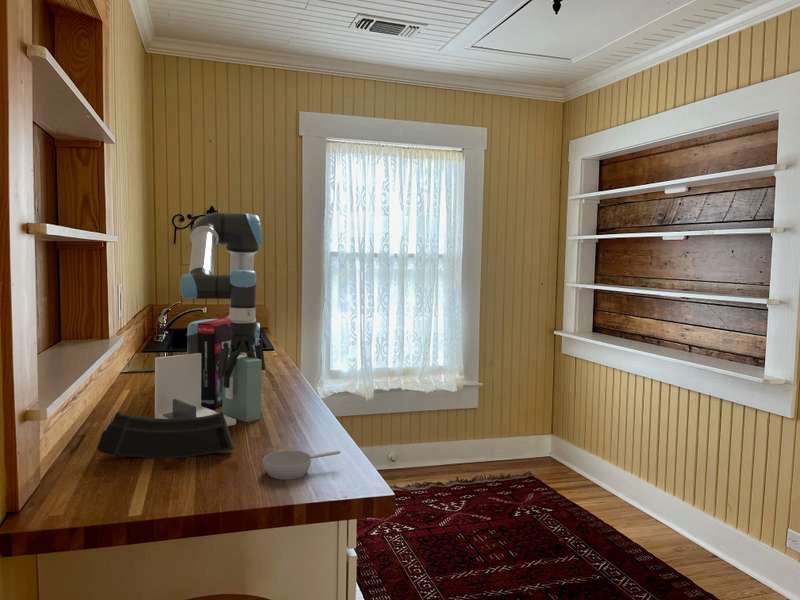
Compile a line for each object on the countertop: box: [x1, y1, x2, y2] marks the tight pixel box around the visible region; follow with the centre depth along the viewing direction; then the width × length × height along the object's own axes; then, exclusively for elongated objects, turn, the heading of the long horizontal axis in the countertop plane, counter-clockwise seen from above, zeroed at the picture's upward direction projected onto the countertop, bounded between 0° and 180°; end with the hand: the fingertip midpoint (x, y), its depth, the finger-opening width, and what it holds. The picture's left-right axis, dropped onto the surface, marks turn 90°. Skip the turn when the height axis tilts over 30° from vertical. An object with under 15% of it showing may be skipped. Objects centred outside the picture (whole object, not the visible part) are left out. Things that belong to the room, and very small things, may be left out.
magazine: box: [96, 411, 234, 459], centre depth 142 cm, size 17×3×30 cm
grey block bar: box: [163, 399, 196, 419], centre depth 168 cm, size 4×12×4 cm, turn 48°
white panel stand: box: [154, 353, 237, 427], centre depth 171 cm, size 14×21×18 cm, turn 48°
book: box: [221, 354, 263, 423], centre depth 178 cm, size 5×13×18 cm, turn 48°
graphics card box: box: [197, 317, 232, 409], centre depth 193 cm, size 17×7×27 cm, turn 168°
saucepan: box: [262, 450, 341, 481], centre depth 136 cm, size 11×18×4 cm, turn 114°
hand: (241, 395), depth 178 cm, fingers open, 8 cm apart
